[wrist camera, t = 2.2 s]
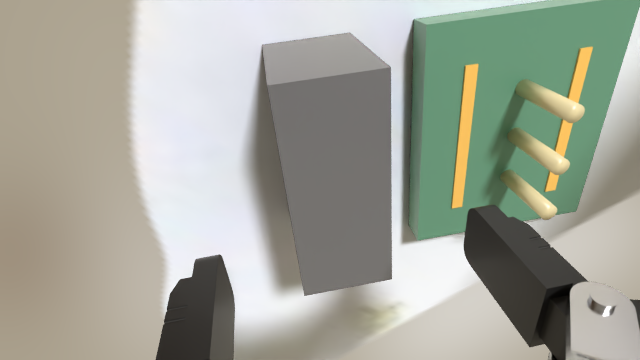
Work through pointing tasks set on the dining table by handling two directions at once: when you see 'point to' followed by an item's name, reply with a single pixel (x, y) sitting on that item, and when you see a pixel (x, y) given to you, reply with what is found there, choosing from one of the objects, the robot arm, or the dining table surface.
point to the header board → (510, 108)
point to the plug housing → (334, 157)
